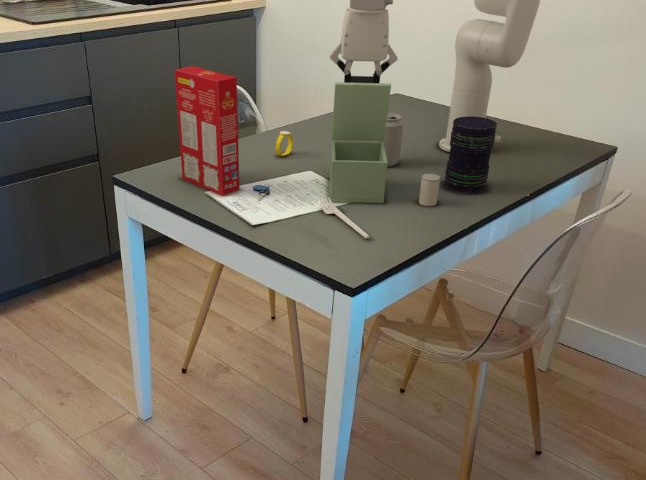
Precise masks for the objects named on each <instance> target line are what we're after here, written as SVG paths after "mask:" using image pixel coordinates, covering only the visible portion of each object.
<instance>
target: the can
mask: <svg viewBox="0 0 646 480" xmlns="http://www.w3.org/2000/svg"><path fill="white" fill-rule="evenodd" d="M402 118H403V116H402V115H400V114H398V113H396V112H395V113H394V112H388V113H387V120H386V128H385V135H384V141H371V142H382V143H384V148H385V153H386V158H387V168H389V167H394V166H396V165H397V164H398V163H399V162H400V159H401V153H402V152H401V151H402V143H403V134H404V133H403V131H404V121H403V120H402Z"/></svg>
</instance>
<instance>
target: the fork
mask: <svg viewBox="0 0 646 480" xmlns="http://www.w3.org/2000/svg"><path fill="white" fill-rule="evenodd" d="M318 201H319V205H320V206H321V209H322V211H323V213H324V214H325V215H332V214H335V215H336V216H337V217H338V218H340V219H341V220H342V221H343V222H345V223H346V225H349V226H350V227H351V228H352V229H354V230H355V231H356V232H357V233H358V234H359V235H361V236H362V237H363V238H365V239H369V238H370V236H369V234H368V233H366V232H365V231H364V230H363V229H361V227H359V226H358V225H357V224H356V223H355V222H353V221H352V220H351V219H350V218H348V216H346V215H345V214H344V213H343V212H342V211H341V210H340V209H339V208H338V207H336V205H335V203H333V202H332V201H331V200H330V196H327V197H326V196H324V198H323V197H318Z"/></svg>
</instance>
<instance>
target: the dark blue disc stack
mask: <svg viewBox="0 0 646 480" xmlns="http://www.w3.org/2000/svg"><path fill="white" fill-rule="evenodd" d="M497 127H498V123H497V122H496V121H495V120H493V119H490V118H487V117H486V118H482V117H459V118H456V119H454V121H453V127H452V132H451V140H450V146H451V148H450V152H449V155H448V160H447V162H446V167H445V172H444V175H445V176H444V181H443V186H444V187H445V188H446V189H447V190H449V191H451V192H454V193H458V194H466V195H473V194H479V193H482V192H484V191H485V190H486V185H487V181H488V178H489V171H490V158H491V154H492V150H493V148H494V145H495V143H494V141H495V136H496V131H497Z"/></svg>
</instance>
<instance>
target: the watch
mask: <svg viewBox="0 0 646 480" xmlns="http://www.w3.org/2000/svg"><path fill="white" fill-rule="evenodd" d="M285 138H287V143H288V144H287V146H286V147H287V148H286V149H285V151H284V152H282V150H281V147H282V142H283V139H285ZM293 146H294V138H293V135H292V134H291V132H290V131H287V130H280V131H279V135H278V137H277V140H276V142H275V153H276V154H277V156H279V157H286V156H287V155H288V156H289V155H290V154H291V152H292V150H293Z"/></svg>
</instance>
